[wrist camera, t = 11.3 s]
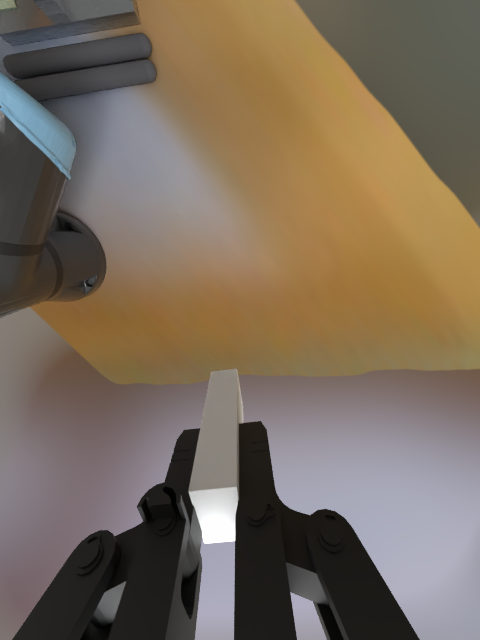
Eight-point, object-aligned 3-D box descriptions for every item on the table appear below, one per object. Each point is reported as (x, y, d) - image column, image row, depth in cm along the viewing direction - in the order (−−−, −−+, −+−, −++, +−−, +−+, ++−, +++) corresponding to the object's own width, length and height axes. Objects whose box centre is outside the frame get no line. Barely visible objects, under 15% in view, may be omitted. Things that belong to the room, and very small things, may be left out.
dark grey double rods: (25, 106, 35) (12, 98, 33) (10, 63, 33) (-5, 52, 31) (160, 84, 34) (155, 75, 32) (151, 39, 32) (145, 26, 30)
